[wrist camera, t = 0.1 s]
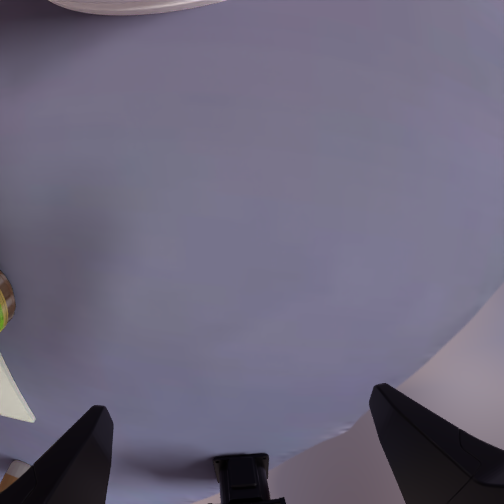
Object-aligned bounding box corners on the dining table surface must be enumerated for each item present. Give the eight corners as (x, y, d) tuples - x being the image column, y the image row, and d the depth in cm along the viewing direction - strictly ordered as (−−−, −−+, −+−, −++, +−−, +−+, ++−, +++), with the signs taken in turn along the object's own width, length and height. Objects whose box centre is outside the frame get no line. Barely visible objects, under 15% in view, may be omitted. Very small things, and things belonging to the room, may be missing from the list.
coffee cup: (52, 488, 34) (36, 553, 20) (11, 469, 32) (-10, 530, 18) (47, 470, 32) (27, 544, 18) (3, 448, 30) (-24, 517, 16)
